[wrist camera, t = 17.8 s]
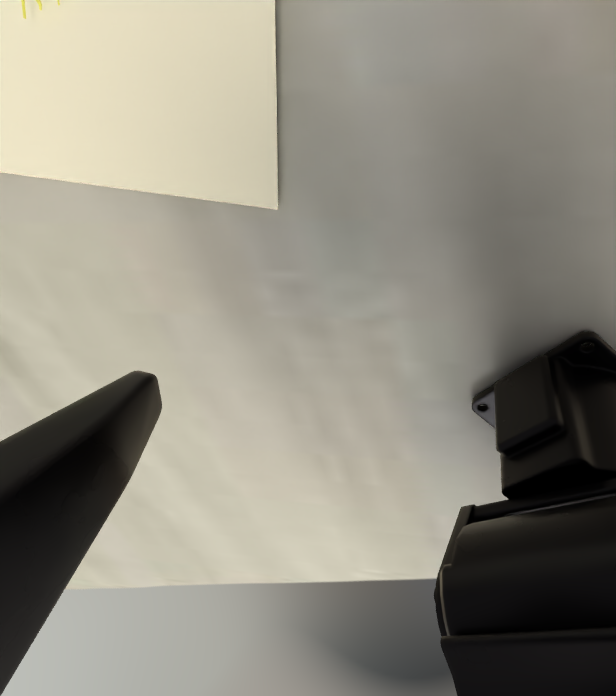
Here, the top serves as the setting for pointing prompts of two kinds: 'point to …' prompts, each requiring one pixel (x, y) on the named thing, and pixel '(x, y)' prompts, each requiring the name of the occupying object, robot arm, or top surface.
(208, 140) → the printed paper
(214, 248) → the top surface
